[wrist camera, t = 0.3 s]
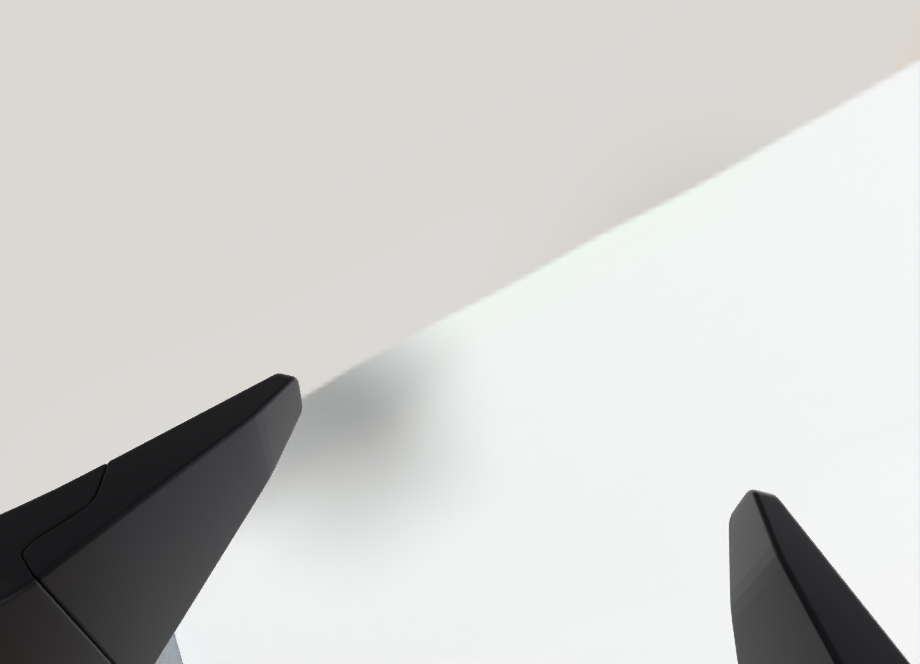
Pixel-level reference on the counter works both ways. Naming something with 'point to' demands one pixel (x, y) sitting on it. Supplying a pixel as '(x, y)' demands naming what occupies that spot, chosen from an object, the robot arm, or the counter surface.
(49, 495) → the robot arm
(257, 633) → the counter surface
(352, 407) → the counter surface
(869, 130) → the counter surface
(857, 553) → the counter surface
